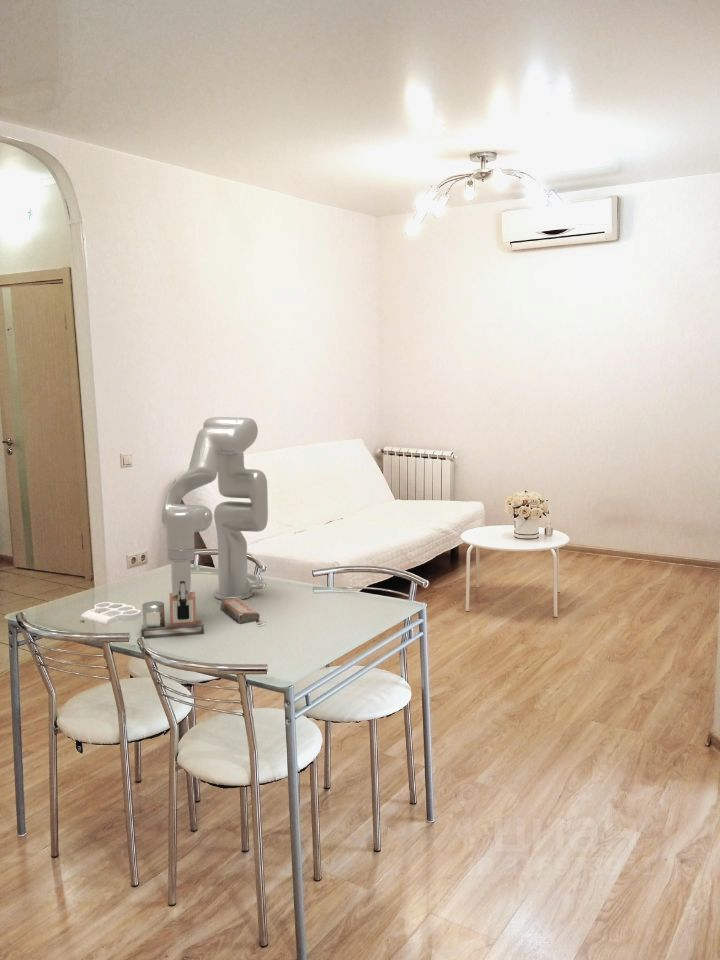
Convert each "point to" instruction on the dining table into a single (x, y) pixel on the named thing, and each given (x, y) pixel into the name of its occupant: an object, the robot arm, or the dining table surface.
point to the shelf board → (173, 630)
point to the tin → (153, 614)
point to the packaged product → (240, 611)
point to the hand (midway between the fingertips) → (183, 615)
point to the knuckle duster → (111, 613)
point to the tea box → (173, 610)
